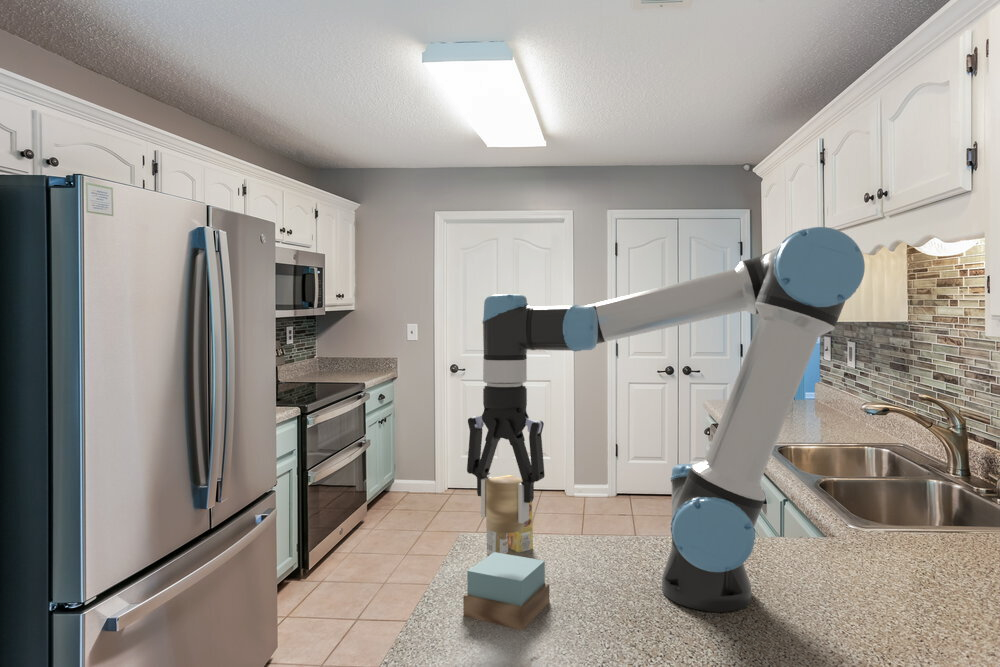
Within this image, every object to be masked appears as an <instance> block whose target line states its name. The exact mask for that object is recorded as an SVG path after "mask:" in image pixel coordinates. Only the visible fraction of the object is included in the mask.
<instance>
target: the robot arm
mask: <svg viewBox="0 0 1000 667" xmlns="http://www.w3.org/2000/svg"><path fill="white" fill-rule="evenodd" d="M865 268H866V265H865V258H864V255H863V253H862V250H861V248H860V247H859V245H858V244H857V243H856V242H855V240H854V239H853V238H852V237H850V236H849V235H848V234H846V233H844V231H841V230H838V229H836V228H831V227H826V226H814V227H813V226H812V227H809V228H803V229H801V230H797V231H795V232H793V233H792V234H790V235H789V236H788V237H786V238H785V239H784V240H783V241H782V242H781V244H780V245H779V246H776V248H774V249H772V250H770V251H768V252H766V253H764V254H761V255H759V256H756V257H753V258H749V259H746V260H745V259H744V260H741V261H739V263H738V264H737V266H736V267H735V268H733V269H728V270H724V271H720V272H717V273H713V274H708V275H704V276H700V277H696V278H692V279H689V280H684V281H681V282H680V281H679V282H676V283H672V284H668V285H663V286H660V287H655V288H652V289H647V290H643V291H639V292H635V293H631V294H627V295H622V296H619V297H616V298H615V297H614V298H612V299H611V298H610V299H607V300H602V301H599V302H596V303H591V304H587V305H580V304H572V305H548V306H547V305H546V306H535V305H534V306H533V305H529V304H528V300H527V297H526V296H525V295H523V294H491V295H489V296H487V297H486V298H485V299H484V302H483V319H482V324H483V325H482V329H483V330H482V335H483V338H482V340H483V362H482V363H483V364H482V366H483V367H482V373H483V375H482V378H483V380H482V382H483V383H485V384H486V385H483V386H484V387H482V389H483V390H482V391H483V392H482V394H483V397H482V398H483V399H482V400H483V401H482V403H483V404H482V405H483V407H484V408H483V412H482V414H481V415H480V416H478V415H476V416H472V417H469V418H468V419H467V425H468V428H469V439H468V440H469V441H468V451H467V452H468V453H467V465H466V471H467V473H468V474H470V475H471V474H472V475H474V476H475V477H476V488H477V489H476V495H477V497H480V502H481V503H480V517H481V518H484V519H486V480H487V479H489V478H492V477H493V476H490V474H491V472H490V470H491V466H492V463H493V460H494V457H495V455H496V454H495V453H496V450H497V447H498V444H499V442H500V441H501V439H504V440H507V441H508V442H509V444H510V446H511V447H512V450H513V453H514V457H515V460H516V463H517V466H518V470H519V474H520V478H521V479H522V481H523V482H521V483H520V484H518V523H524V522H525V521H527V520H529V503H530V502H532V503H533V502H534V498H535V497H534V492H535V491H534V490H535V489H534V488H535V485H534V484H535V483H536V482H539V481H541V480H543V479H544V478H545V464H544V451H543V439H542V438H543V437H542V435H543V434H542V432H543V429H544V426H545V425H544V422H543V421H542V420H535V419H531V418H530V417H529V415H528V413H527V406H528V405H527V402H528V400H527V397H528V388H527V386H526V385H524V383H526V382H527V381H528V380H527V378H528V377H527V372H528V371H527V370H528V369H527V360H528V355H527V353H528V351H537V350H538V351H572V352H581V351H592V350H594V349H595V348H596V347H597V345H599V344H602V343H606V342H607V343H608V342H611V341H614V340H620V339H624V338H628V337H629V338H630V337H634V336H637V335H643V334H647V333H651V332H655V331H659V330H660V331H661V330H665V329H669V328H672V327H677V326H682V325H686V324H690V323H696V322H700V321H704V320H709V319H714V318H718V317H723V316H728V315H732V314H735V313H741V312H747V313H750V314H751V315H758V314H759V320H758V323H757V326H756V328H755V331H754V334H753V336H752V338H751V341H750V344H749V346H748V348H747V350H746V354H745V356H744V358H743V362H742V363H741V366H740V368H739V369H740V370H739V371H738V375H737V377H736V379H735V381H734V384H733V387H732V390H731V392H730V394H729V396H728V400H727V402H726V405H725V407H724V409H723V412H722V415H721V418H720V420H719V422H718V425H717V428H716V431H715V433H714V435H713V438H712V441H711V443H710V445H709V448H708V451H707V453H706V456H705V458H704V459H703V460H701V461H699V462H696V463H679V464H676V465H674V466H673V468H672V469H671V477H670V482H671V522H670V535H671V549H670V552H669V555H668V558H667V561H666V564H665V566H664V570H663V573H662V577H661V590H662V593H663V594H664V595H665V597H666V598H668V599H669V600H670V601H672V602H674V603H676V604H678V605H681V606H683V607H686V608H690V609H694V610H699V611H703V612H704V611H705V612H712V613H713V612H714V613H726V612H736V611H740V610H743V609H744V608H747V607H748V606H750V605H751V602H752V585H751V583H750V580H749V575H748V573H747V570H746V567H745V564H744V563H745V562H746V561H748V559H749V558H750V557H751V554H752V552H753V551H754V550H753V549H754V546H755V541H756V530H755V526H756V524H757V521H758V520H759V515H760V513H761V511H762V509H763V506H764V504H765V500H766V498H767V497H766V493H765V492H764V489H763V488H762V486H761V485H762V484H761V481H762V479H763V476H764V473H765V471H766V469H767V466H768V464H769V461H770V458H771V456H772V453H773V452H774V449H775V446H776V445H777V442H778V439H779V436H780V434H781V432H782V429H783V427H784V424H785V422H786V419H787V416H788V414H789V411H790V409H791V406H792V404H793V402H794V399H795V396H796V394H797V392H798V389H799V387H800V385H801V382H802V379H803V377H804V375H805V372H806V370H807V367H808V365H809V363H810V359H811V358H812V354H813V352H814V350H815V347H816V344H817V342H818V340H819V338H820V337H822V336H823V335H824V334H827V333H829V332H832V331H833V330H835V328H836V325H837V323H838V320H839V318H840V315H841V313H842V310H843V308H844V306H845V303H846V301H847V300H848V299H850V298H852V296H853V295H854V294H855V293H856V292H857V290H858V289H859V287H860V285H861V283H862V282H863V278H864V275H865V272H866V271H865ZM484 425H485V428H486V429H487V432H486V435H485V436H486V437H485V440H484V441H485V444H484V445H483V450H482V440H483V427H484ZM526 427H527V432H529V434H528V440H529V441H528V442H529V443H528V444H529V453H530V455H529V453H528V450H527V447H526V443H525V441H526V440H525V436H524V432H523V430H524V429H525V428H526ZM529 457H530V458H529Z"/></svg>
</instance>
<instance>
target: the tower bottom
mask: <svg viewBox="0 0 1000 667" xmlns="http://www.w3.org/2000/svg"><path fill="white" fill-rule="evenodd" d="M462 596H463V599H462V600H463V601H462V602H463V605H462V606H463V610H462V612H463V617H466V618H471V619H475V620H479V621H482V622H486V623H490V624H494V625H498V626H503V627H507V628H510V629H515V630H518V631H523V630H524V629H525V628H526V627H527V626H529V625H530V623H531V622H533V620H534V619H535V618H536V617H537V616H538V615H539V613H541V612H542V611H543V610H544V609H545V608H546V607H547V605H549V603H550V583H547V582H545V584H544V585H543V586H542V587H541V588H540V589H538V590H537V591H536V592H535V593H534V594H533V595H532V596H531V597H530V598H529V599H528V600H527V601H526V602H525V603H524V604H523V605H522V606H519V605H515V604H510V603H505V602H501V601H496V600H491V599H486V598H482V597H477V596H472V595H468V594H467V592H466V593H465V594H463V595H462Z"/></svg>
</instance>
